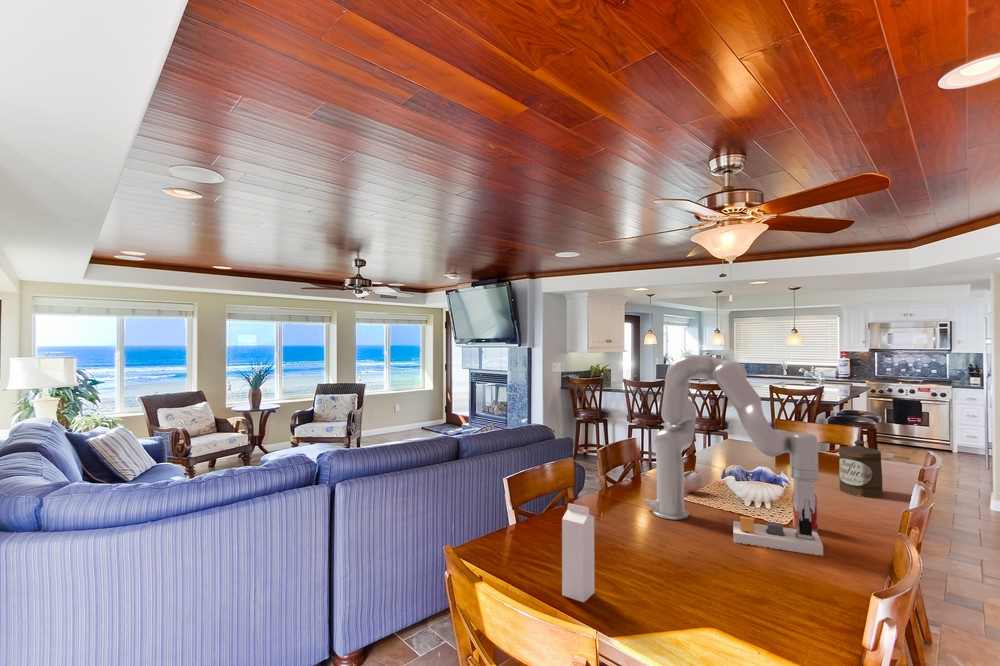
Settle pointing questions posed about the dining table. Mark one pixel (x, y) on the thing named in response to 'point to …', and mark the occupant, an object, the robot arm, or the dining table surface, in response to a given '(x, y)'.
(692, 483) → the decorative fruit
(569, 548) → the milk
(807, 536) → the button grey
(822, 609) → the dining table surface
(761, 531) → the panel
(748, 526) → the thick orange block
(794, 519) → the soda can
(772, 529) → the button black
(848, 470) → the wooden container
